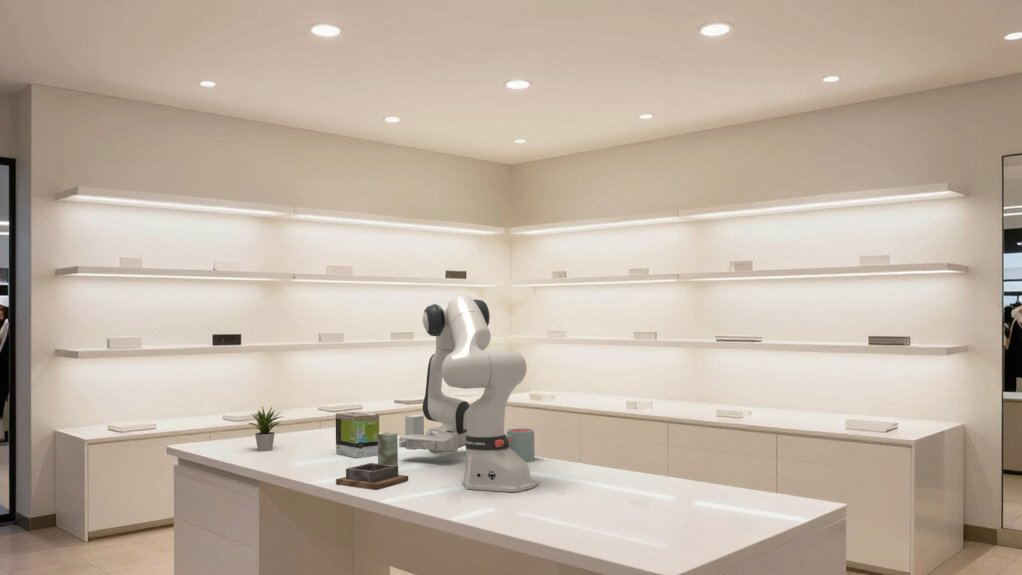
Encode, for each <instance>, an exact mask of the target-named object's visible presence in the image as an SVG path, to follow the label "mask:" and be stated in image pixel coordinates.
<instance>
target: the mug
mask: <svg viewBox="0 0 1022 575" xmlns="http://www.w3.org/2000/svg"><path fill="white" fill-rule="evenodd" d="M505 435H506V437H507V438H508V439H509V438H512V439H511V440H510V441H512V442H509V445H510V448H511V449H512V450H513V451H514V452H515V453H516V454H517V455H518V456H519V457H521V458H522V459H523V460H524V461H525V462H526V463H531V462H535V460H536V459H535V458H536V457H535V453H536V452H535V429H533V428H527V427H526V428H520V427H519V428H510V429H509V428H508V429H507V430H506V434H505Z"/></svg>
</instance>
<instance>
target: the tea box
mask: <svg viewBox="0 0 1022 575" xmlns="http://www.w3.org/2000/svg"><path fill="white" fill-rule="evenodd" d="M378 434H380V414H379V413H373V412H366V411H365V412H364V411H345V412H339V413H335V453H336V454H339V455H344V456H348V457H353V458H355V459H357V458H365V457H367V458H368V457H373V456H378Z"/></svg>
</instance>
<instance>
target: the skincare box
mask: <svg viewBox="0 0 1022 575" xmlns="http://www.w3.org/2000/svg"><path fill="white" fill-rule="evenodd" d="M404 417H405V418H404V419H405V420H404V421H405V423H404V424H405V425H404V427H405V428H404V429H405V431H404V436H405V435H413V434H417V435H425V415H424V414H423V415H421V414H413V415H407V416H404ZM404 448H405V449H408V450H416V448H406V447H404Z"/></svg>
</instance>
